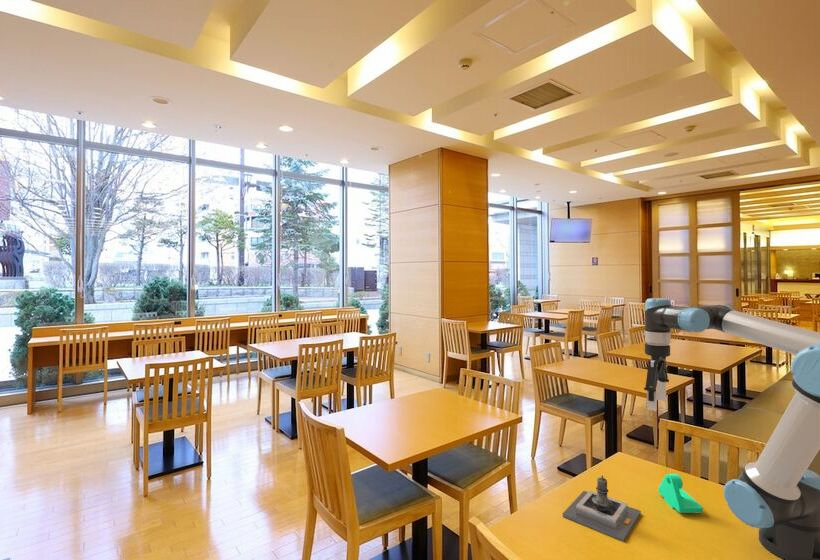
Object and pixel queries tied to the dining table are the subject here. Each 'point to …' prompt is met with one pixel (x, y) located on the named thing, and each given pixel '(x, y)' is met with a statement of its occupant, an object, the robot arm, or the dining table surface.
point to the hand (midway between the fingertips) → (656, 405)
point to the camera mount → (678, 495)
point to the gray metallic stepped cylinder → (602, 497)
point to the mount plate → (603, 516)
